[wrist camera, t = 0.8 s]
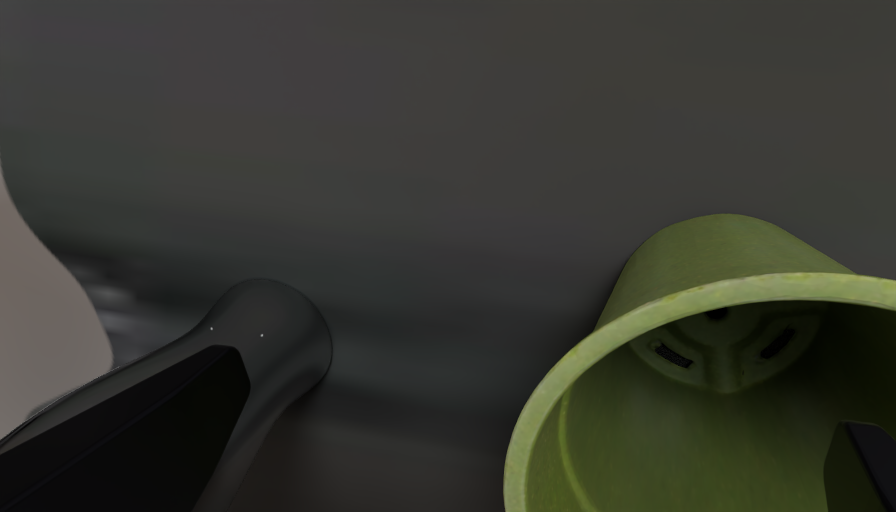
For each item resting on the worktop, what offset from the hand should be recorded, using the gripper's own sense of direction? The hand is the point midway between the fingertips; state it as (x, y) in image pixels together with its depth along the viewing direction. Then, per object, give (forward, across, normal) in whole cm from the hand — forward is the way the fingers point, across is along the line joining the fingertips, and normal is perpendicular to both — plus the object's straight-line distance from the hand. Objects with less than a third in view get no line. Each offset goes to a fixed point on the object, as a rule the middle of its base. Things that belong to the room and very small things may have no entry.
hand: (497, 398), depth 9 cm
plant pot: (+14, -5, +7) cm, 16 cm away
